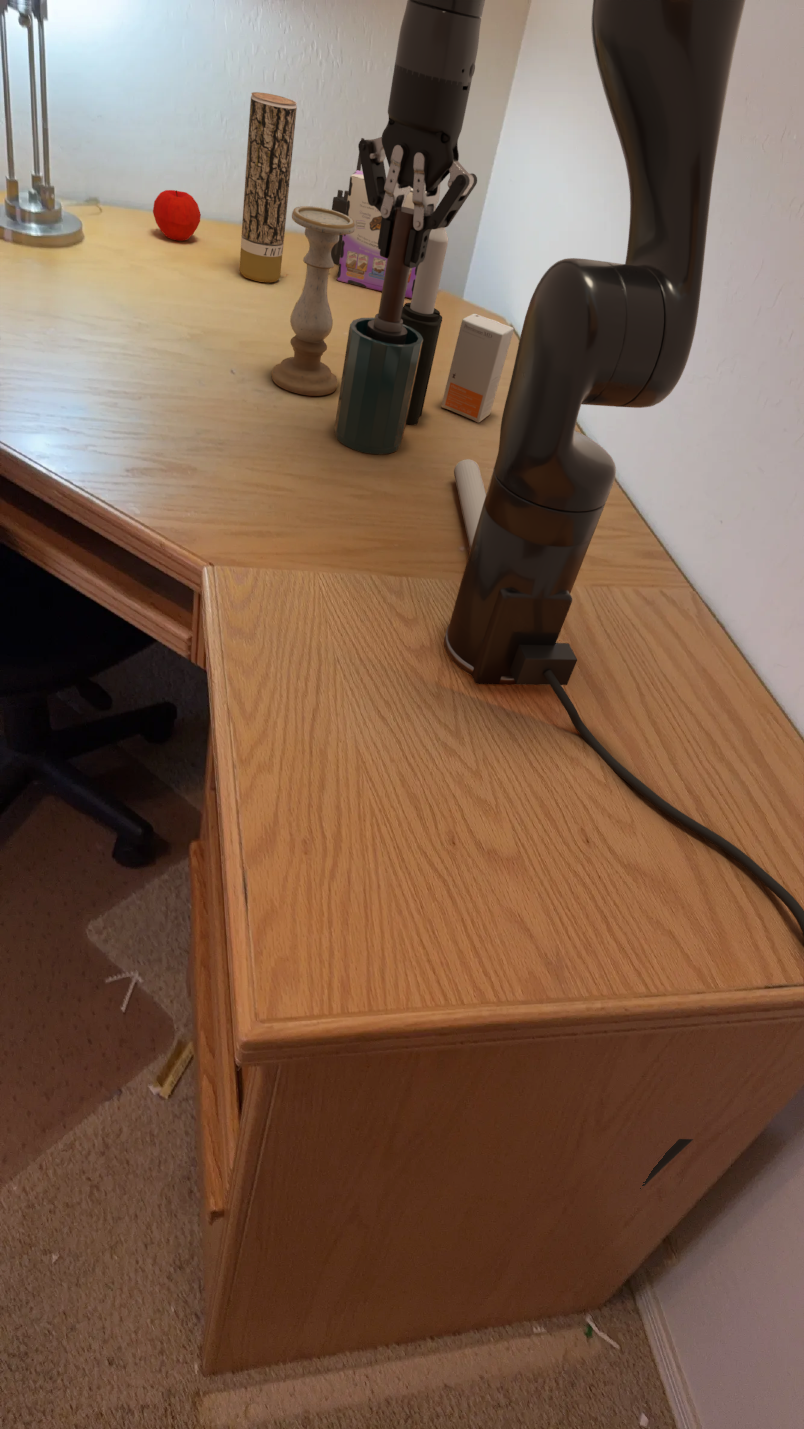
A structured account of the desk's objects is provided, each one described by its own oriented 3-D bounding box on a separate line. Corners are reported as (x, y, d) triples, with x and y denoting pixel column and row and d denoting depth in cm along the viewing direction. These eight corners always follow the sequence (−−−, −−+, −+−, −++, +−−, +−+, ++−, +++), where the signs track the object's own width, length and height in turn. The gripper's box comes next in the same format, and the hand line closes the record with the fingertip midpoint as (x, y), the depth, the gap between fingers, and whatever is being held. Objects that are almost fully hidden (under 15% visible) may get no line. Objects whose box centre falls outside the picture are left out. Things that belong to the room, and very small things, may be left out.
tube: (505, 606, 87) (475, 484, 105) (514, 580, 84) (482, 460, 103) (476, 602, 86) (451, 480, 104) (484, 576, 84) (457, 456, 102)
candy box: (416, 291, 157) (436, 188, 147) (412, 300, 153) (432, 194, 142) (342, 271, 157) (356, 167, 146) (335, 280, 153) (349, 173, 142)
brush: (399, 397, 103) (434, 220, 91) (361, 393, 102) (391, 212, 90) (391, 381, 107) (424, 207, 94) (354, 377, 105) (382, 200, 93)
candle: (415, 426, 114) (461, 214, 98) (378, 416, 114) (417, 202, 98) (422, 412, 118) (467, 205, 101) (386, 402, 118) (425, 194, 102)
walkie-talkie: (354, 265, 162) (373, 139, 149) (344, 267, 160) (362, 139, 146) (333, 256, 163) (350, 131, 150) (323, 258, 161) (339, 131, 148)
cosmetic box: (439, 408, 120) (460, 318, 112) (452, 399, 123) (473, 311, 115) (479, 424, 119) (502, 334, 111) (491, 415, 122) (515, 327, 114)
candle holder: (260, 383, 115) (275, 211, 101) (286, 363, 121) (304, 199, 108) (322, 403, 114) (346, 232, 100) (345, 382, 120) (370, 219, 107)
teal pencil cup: (407, 457, 107) (430, 350, 98) (340, 451, 104) (357, 341, 96) (393, 426, 113) (414, 322, 104) (329, 419, 110) (345, 313, 102)
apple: (185, 230, 157) (186, 183, 153) (208, 245, 154) (210, 198, 149) (144, 230, 153) (144, 182, 148) (167, 245, 149) (168, 197, 144)
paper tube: (232, 275, 144) (243, 93, 128) (249, 266, 149) (262, 90, 133) (270, 287, 143) (286, 105, 127) (286, 277, 149) (303, 102, 132)
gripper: (352, 47, 83) (327, 244, 95) (477, 86, 79) (435, 288, 91) (394, 51, 89) (366, 237, 100) (514, 88, 84) (470, 278, 96)
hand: (399, 260), depth 95 cm, fingers closed on brush, 2 cm apart
